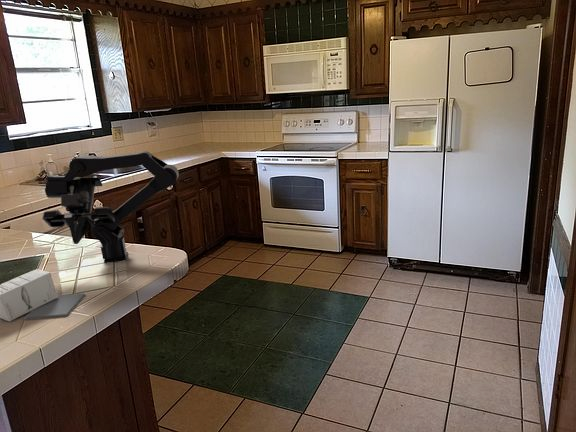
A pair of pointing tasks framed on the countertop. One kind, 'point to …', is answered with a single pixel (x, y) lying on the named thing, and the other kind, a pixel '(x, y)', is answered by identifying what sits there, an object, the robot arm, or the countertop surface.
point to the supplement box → (26, 294)
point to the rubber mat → (56, 307)
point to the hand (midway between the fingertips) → (75, 243)
